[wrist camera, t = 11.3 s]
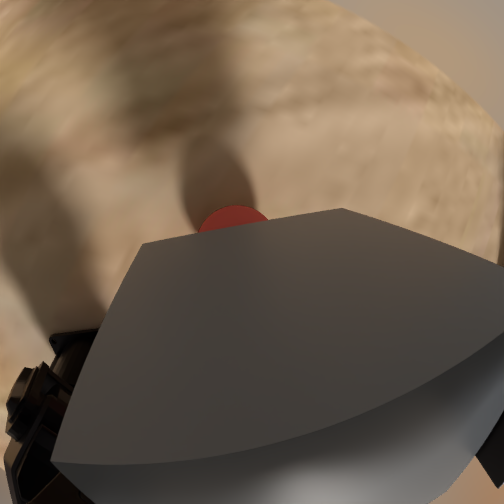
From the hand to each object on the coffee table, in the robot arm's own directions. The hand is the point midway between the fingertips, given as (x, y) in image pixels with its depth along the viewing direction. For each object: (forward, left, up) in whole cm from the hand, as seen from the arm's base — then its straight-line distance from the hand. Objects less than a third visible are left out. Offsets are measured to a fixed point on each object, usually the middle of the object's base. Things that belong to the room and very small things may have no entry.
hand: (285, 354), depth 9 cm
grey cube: (0, 0, -3) cm, 3 cm away
